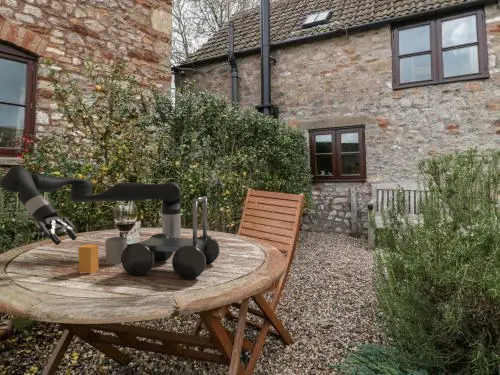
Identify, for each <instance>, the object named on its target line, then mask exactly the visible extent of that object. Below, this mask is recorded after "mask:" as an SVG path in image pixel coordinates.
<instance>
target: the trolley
mask: <svg viewBox="0 0 500 375" xmlns="http://www.w3.org/2000/svg"><path fill="white" fill-rule="evenodd" d="M200 202H202V235H200V236H198V203H200ZM191 203H192V238H190V237H189V238H188V237H187V238H186V237H181V238H170V237H169V236H168V235H166V234H163V233H162V232H161V233H160V232H159V233H155V234H153V235H152V236H150V237H149V238H148V239H145V240H142V241H141V242H134V243H132V244H129V245H127V247H126V248H125V249H124V251H123V252H122V255H121V263H122V264H121V266H122V268H123V270H124V272H126V273H127V274H128V275H130V276H134V277H141V276H144V275H145V274H147V273H149V272H150V271H151V270H152V268H153V267H154V264H155V262H157V263H164V262H166V261H168V260H169V259H171V257H172V259H171V266H172V269H173V271H174V272H175V274H176V275H177V277H179V278H181V279H184V280H187V281H191V280H195V279H198V277H200V276H201V275H202V273H203V272H204V271H205V270H206V267H207V265H210V264H212V263H214V262H215V261H216V260H217V259H218V257H219V256H220V250H221V248H220V245H219V243H218V241H217V240H216V238H214V237H213V236H211V235H208V227H207V226H208V217H207V216H208V197H207V196H206V195H205V196H200V197H196V198H195V197H194V198H193V199H191Z"/></svg>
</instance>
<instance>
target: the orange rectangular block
mask: <svg viewBox="0 0 500 375" xmlns="http://www.w3.org/2000/svg"><path fill="white" fill-rule="evenodd" d="M97 270H98V271H99V244H84V245H81V246H78V273H79V272H86V273H92V272H94V271H96V272H98V271H97ZM94 273H95V272H94ZM92 274H93V273H92Z"/></svg>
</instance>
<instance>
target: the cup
mask: <svg viewBox="0 0 500 375" xmlns="http://www.w3.org/2000/svg"><path fill="white" fill-rule="evenodd" d="M127 246H128V238H127V237H126V236H125V237H124V236H114V237H113V236H112V237H108V238H106V239H105V264H106V263H107V264H106V265H108V264H119V265H122V264H121V255H122V252H123V251H124V249H125V248H126V247H127Z"/></svg>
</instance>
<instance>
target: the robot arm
mask: <svg viewBox="0 0 500 375" xmlns="http://www.w3.org/2000/svg"><path fill="white" fill-rule="evenodd" d="M68 185H70V200H71V202H74V203H94V202H138V201H146V200H147V201H148V200H161V201H162V203H161V204H162V205H161V206H162V207H161V233H163V234H166V235H168V236H169V237H170V238H182V237H181V230H182V229H181V228H182V226H181V223H182V221H181V220H182V219H181V213H182V212H181V209H182V208H181V207H182V201H181V200H182V194H181V193H182V191H181V187H180V185H179V184H178V183H176V182H174V181H171V182H170V181H169V182H165V183H155V184H150V183H149V184H148V183H142V182H118V183H116V184H114V185H112V186H111V187H109V188H108V189H106V190H104V191H102V192H100V193H96V194H93V182H92V181H91V180H90V179H86V178H78V177H61V176H50V175H44V174H40V173H39V174H38V173H32V174H31V173H30V172H29V170H28V169H27V168H25V167H23V166H19V165H15V166H14V165H13V166H12V167H11V168H10V169H9V170H8V172H6V173H5V175H4V176H3V177H2V178H1V180H0V187H1V188H3V190H5V191H6V192H7V191H8V192H11V193H17V195H16V196H17V199H18V200H19V201H20V203H22V205H23V206H24V207H25V208H26V211H27V212H28V214H29V215H31V217H32V218H33V219H34V220H35V222H36V224H35V226H34V227H35V229H36V230H37V232H38V233H39V234H40V236H41V237H42V238H44V239H46V238H48V239H50V240H51V242H52V243H53V244H54V245H56V246H58V245H60V244H61V243H62V240H61V239H60V237H59V236H58V235H57V233H56V231H59V232H61V233H62V232H64V233H66V234H67V235H68V237H69V238H70V239H71V240H72V241H75V240H76V239H77V238H78V235H77V234H76V232H74V228H75V225H74V224H73V223H72V222H71V221H70V220H69V219H68V217H66V216H63V218H60V217H59V216H58V215H59V214H58V211H57V210H56V209H55V208H54V206H53V205H52V204H51V202H50V201H48V200H47V198H45V196H43V195H42V193H51V192H55V191H58V190H59V189H61V188H63V187H65V186H68ZM41 192H42V193H41Z"/></svg>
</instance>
